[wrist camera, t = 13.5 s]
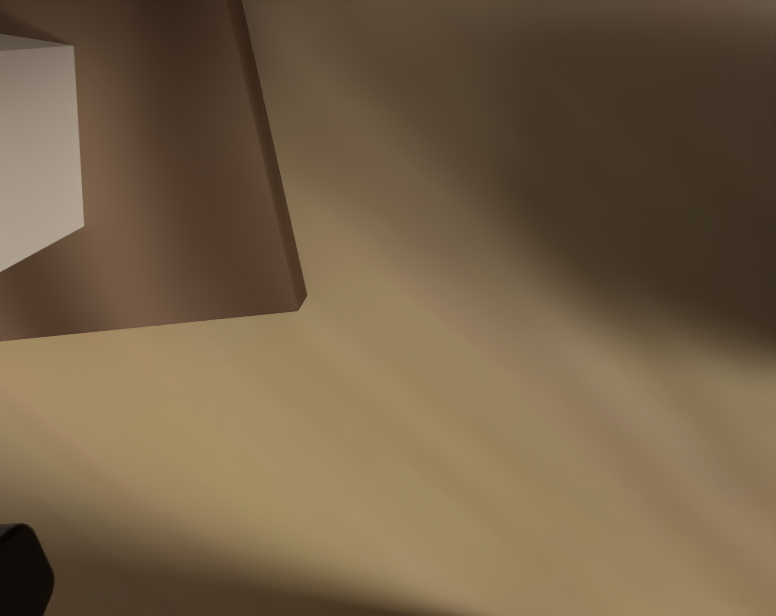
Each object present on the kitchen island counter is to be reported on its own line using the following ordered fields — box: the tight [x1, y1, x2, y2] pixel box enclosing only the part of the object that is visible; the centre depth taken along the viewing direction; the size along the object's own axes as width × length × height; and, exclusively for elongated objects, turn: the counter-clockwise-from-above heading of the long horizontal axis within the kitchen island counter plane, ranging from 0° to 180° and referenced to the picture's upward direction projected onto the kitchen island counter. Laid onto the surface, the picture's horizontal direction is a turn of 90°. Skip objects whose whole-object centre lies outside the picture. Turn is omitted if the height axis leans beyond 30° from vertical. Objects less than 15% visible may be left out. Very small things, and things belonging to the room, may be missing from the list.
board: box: [0, 0, 307, 341], centre depth 19 cm, size 15×13×1 cm
